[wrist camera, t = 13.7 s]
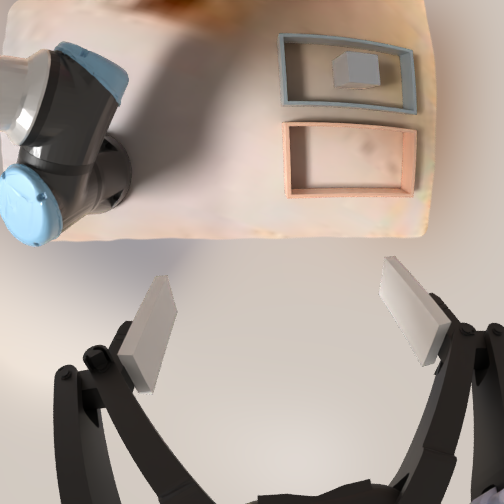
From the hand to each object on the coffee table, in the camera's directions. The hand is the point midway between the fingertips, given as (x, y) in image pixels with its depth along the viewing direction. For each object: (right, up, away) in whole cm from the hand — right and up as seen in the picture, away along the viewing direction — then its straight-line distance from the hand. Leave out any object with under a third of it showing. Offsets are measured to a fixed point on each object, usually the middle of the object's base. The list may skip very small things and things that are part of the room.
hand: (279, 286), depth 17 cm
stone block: (+14, +32, +23) cm, 42 cm away
